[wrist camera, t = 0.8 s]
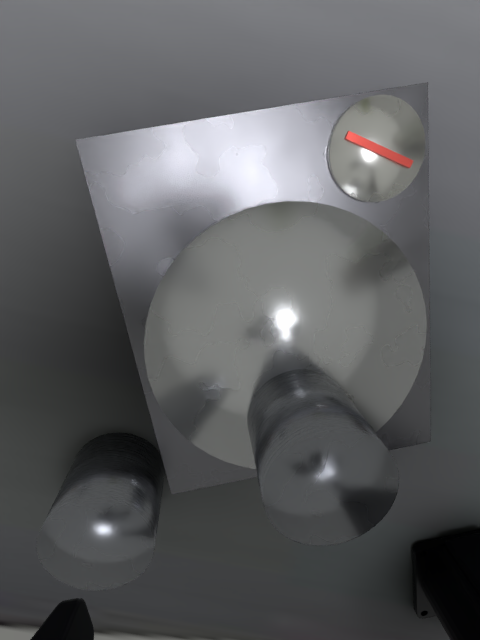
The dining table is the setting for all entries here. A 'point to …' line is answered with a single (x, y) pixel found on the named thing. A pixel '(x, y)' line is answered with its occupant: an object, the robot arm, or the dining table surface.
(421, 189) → the dial scale
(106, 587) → the steel spacer
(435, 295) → the dining table surface
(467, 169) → the dining table surface
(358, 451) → the cylinder
